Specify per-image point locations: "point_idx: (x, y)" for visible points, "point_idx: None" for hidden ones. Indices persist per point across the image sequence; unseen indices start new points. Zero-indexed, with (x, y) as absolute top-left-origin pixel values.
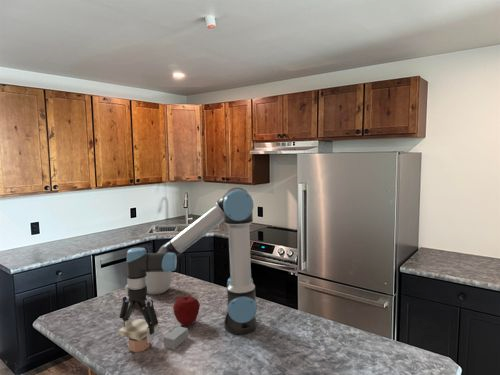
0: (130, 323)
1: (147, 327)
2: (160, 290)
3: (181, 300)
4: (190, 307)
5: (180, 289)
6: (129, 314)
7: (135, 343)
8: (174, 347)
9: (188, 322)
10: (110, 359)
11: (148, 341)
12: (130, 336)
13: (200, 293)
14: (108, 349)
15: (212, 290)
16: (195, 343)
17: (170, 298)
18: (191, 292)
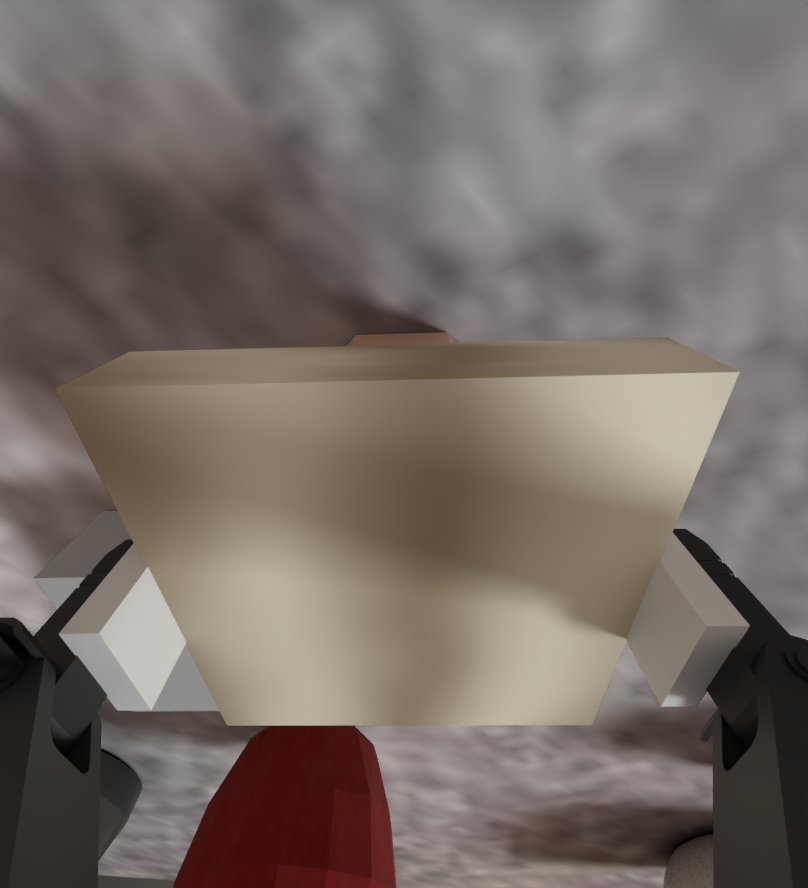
0: (612, 619)
1: (17, 626)
2: (698, 875)
3: None
4: None
5: (602, 868)
6: (747, 870)
7: None
8: (97, 524)
9: (252, 744)
10: (530, 39)
11: None
12: (349, 354)
13: (478, 867)
14: (702, 236)
15: (442, 884)
16: None
17: (604, 826)
18: (528, 864)
